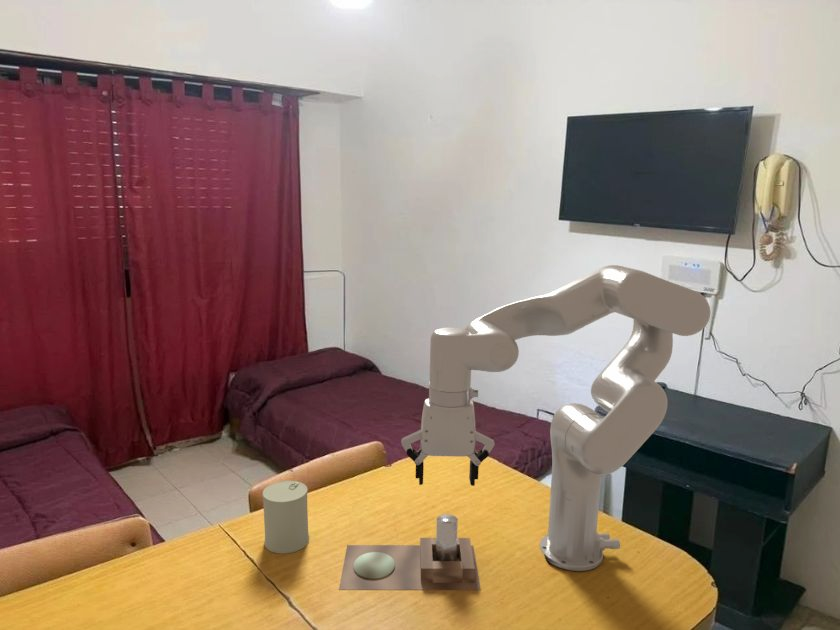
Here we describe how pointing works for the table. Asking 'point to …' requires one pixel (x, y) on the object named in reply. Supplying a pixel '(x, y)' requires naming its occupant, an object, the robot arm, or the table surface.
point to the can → (285, 516)
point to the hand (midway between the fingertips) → (446, 481)
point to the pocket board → (409, 567)
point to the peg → (446, 538)
